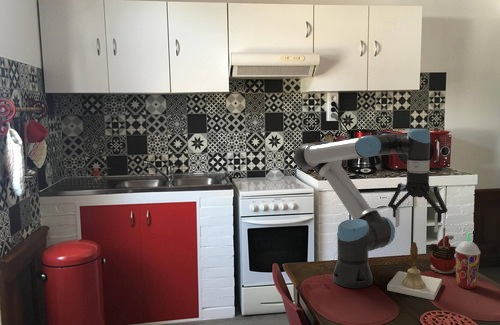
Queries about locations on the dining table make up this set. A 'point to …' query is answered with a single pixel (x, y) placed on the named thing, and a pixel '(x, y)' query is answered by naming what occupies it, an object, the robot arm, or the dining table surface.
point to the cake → (443, 255)
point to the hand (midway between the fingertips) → (416, 228)
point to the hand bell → (413, 272)
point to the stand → (427, 292)
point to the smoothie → (467, 264)
